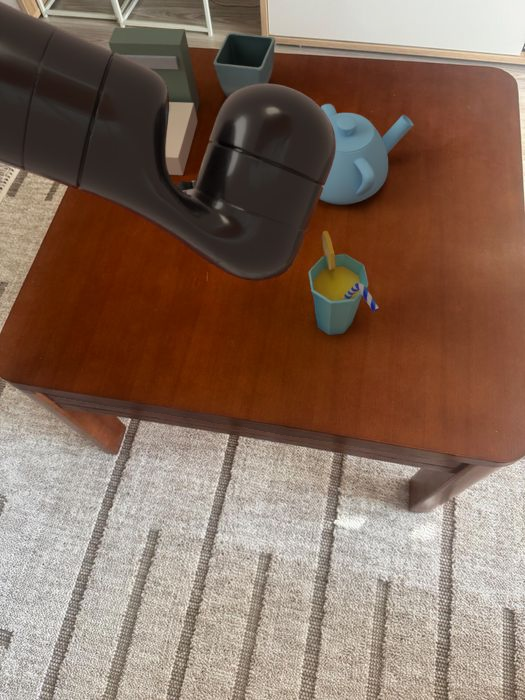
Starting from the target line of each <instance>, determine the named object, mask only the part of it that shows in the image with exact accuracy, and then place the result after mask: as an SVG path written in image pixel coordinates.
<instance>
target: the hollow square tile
mask: <svg viewBox="0 0 525 700" xmlns="http://www.w3.org/2000/svg"><path fill="white" fill-rule="evenodd" d="M198 122H199V121H198V115H197V114H196V111H195V107H194V103H184V102H169V117H168V127H167V136H166V165H167V169H168V173H169V175H170V176H184V173H185V170H186V166H187V162H188V159H189V155H190V151H191V147H192V144H193V140H194V136H195V133H196V130H197V125H198Z"/></svg>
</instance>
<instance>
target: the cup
mask: <svg viewBox="0 0 525 700" xmlns="http://www.w3.org/2000/svg"><path fill="white" fill-rule="evenodd" d="M321 241H322V248H323V249H322V250H323V254H324V255H323V256H321V257H320V258H319V260H318V261H317V262H316V263H315V264H314V265H313V266H312V267H311V268H310V270H309V271H308V277H309V283H310V291H311V295H312V297H313V304H314V312H315V319H316V325H317V328H318V329H319V330H321V331H323V332H324V333H326V334H327V335H329V336H333V335H342V334H344V333H345V332H346V331H347V330H348V329H349V328H350V326H351V325H352V324H353V321H354V319H355V316H356V313H357V312H358V308H359V305H360V302H361V300H362V297H363V299H364V300H365V301H366V304H367V305H368V306H369V308H370V309H371V311H372V312H376V311H377V310H379V309H380V308H379V306H378V304H377V303H376V300H375V299H374V298H373V296H372V295H371V293H370V292H369V290H368V287H369V279H368V276H367V272H366V267H365V265H364V264H363V263H361V262H360V261H358V260H356V259H354V257H351V256H349V255H348V254H346V253H342V254H335V251H334V246H333V242H332V238H331V236H330V233H329V232H328V230H324V231H322V232H321Z"/></svg>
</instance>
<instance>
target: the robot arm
mask: <svg viewBox="0 0 525 700" xmlns="http://www.w3.org/2000/svg"><path fill="white" fill-rule="evenodd" d="M168 117H169V92H168V88H167V85H166V83H165V82H164V80H163V79H162V78H161V77H160V75H158V74H157V73H156V72H154V71H153V70H151V69H149V68H148V67H146V66H144V65H142V64H140V63H138V62H136V61H134V60H131V59H129V58H127V57H124V56H122V55H120V54H117V53H115V54H114V55H113V52H112V51H111V49H108V48H106V47H104V46H102V45H99V44H97V43H95V42H92V41H90V40H89V39H85V38H84V37H81V36H79V35H77V34H74V33H72V32H70V31H67V30H65V29H63V28H61V27H58V26H57V25H55V24H52V23H50V22H48V21H45V20H43V19H41V18H39V17H36V16H33V15H32V14H29V13H27V12H24V11H22V10H20V9H17V8H16V7H14V6H11V5H9V4H7V3H5V2H2V1H1V0H0V164H3V165H6V166H8V167H12V168H14V169H17V170H20V171H23V172H26V173H29V174H31V175H34V176H37V177H40V178H43V179H46V180H49V181H51V182H54V183H57V184H60V185H62V186H66V187H69V188H72V189H74V190H78V189H79V190H80V191H81V192H83V193H87V194H89V195H92V196H95V197H98V198H100V199H102V200H104V201H107V202H110V203H112V204H114V205H116V206H118V207H120V208H122V209H124V210H126V211H128V212H130V213H132V214H134V215H136V216H138V217H140V218H141V219H143V220H145V221H146V222H148V223H150V224H151V225H153V226H155V227H157V228H159V229H160V230H162V231H163V232H164V233H166V234H168V235H169V236H171V238H174V239H175V240H177V241H178V242H180V243H181V244H182V245H184V246H185V247H187V249H189V250H191V251H192V252H193V253H195V254H196V255H198V256H199V257H200V258H202V259H204V260H205V261H207V262H208V263H209V264H211V265H212V266H214V267H216V268H218V269H219V270H220V271H223V272H224V273H226V274H228V275H229V276H233V277H235V278H238V279H241V280H244V281H251V282H252V281H253V282H258V281H268V280H271V279H274V278H277V277H280V276H282V275H283V274H285V273H286V272H288V271H289V270H290V269H291V267H292V266H293V265H294V263H295V261H296V260H297V258H298V255H299V253H300V251H301V248H302V246H303V243H304V240H305V238H306V235H307V232H308V230H309V227H310V224H311V221H312V219H313V217H314V214H315V211H316V209H317V206H318V203H319V201H320V196H321V194H322V191H323V187H322V186H323V185H325V183H326V181H327V178H328V176H329V173H330V170H331V167H332V164H333V161H334V157H335V151H336V139H335V133H334V129H333V127H332V124H331V122H330V120H329V118H328V117H327V115H326V114H325V112H324V111H323V110H322V109H321V106H320V105H319V104H318V103H317V102H316V101H314V100H313V99H312V98H310V97H309V96H307V95H306V94H304V93H303V92H301V91H300V90H299V91H298V90H297V89H295V88H291V87H289V86H286V85H283V84H276V83H268V84H254V85H249V86H246V87H243V88H241V89H238V90H237V91H235V92H234V93H232V94H231V95H230V96H229V97H226V99H224V101H223V103H222V105H221V107H220V108H219V111H218V113H217V116H216V118H215V121H214V124H213V128H212V130H211V133H210V136H209V142H208V144H207V146H206V149H205V153H204V154H203V155H204V156H203V158H202V161H201V164H200V168H199V171H198V174H197V177H196V178H195V179H194V180H189V181H185V180H179V182H178V183H175V182H174V181H173V179H172V177H171V175H169V173H168V169H167V165H166V136H167V127H168Z"/></svg>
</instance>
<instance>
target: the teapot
mask: <svg viewBox="0 0 525 700" xmlns="http://www.w3.org/2000/svg"><path fill="white" fill-rule="evenodd" d="M320 107H321V109H322V110H323V111H324V112H325V114H326V115H327V117H328V118H329V120H330V122H331V124H332V127H333V129H334V133H335V139H336V151H335V157H334V161H333V164H332V167H331V170H330V173H329V176H328V178H327V181H326V183H325V185H323V186H322V187H323V191H322V194H321V196H320V199H319V201H320V200H321V201H322V202H325V203H327V204H331V205H338V206H339V205H340V206H344V205H345V206H346V205H352V204H357V203H360V202H362V201H364V200H367V199H368V198H370V197H372V196H373V195H375V194H376V193H378V191H379V190H380V189H381V188H382V187H383V185H384V183H386V179H387V177H388V173H389V157H388V154H389V153H390V152H391V151H392V149H393V148H394V147H395V146H396V145H397V144H398V143H399V142H400V141H401V140H402V138H403V137H404V136H405V135H407V133H408V132H409V131H410V130H411V129H412V128H413V127H414V122H413V121H412V120H411V119H410V118H409V117H408V116H407V115H405V114H402V115H401V116H400V117H399V118H398V119H397V120H396V121H395V123H394V124H393V125H392V126H391V127H390V128H389V129H388V130H387V131H386V133H384V135H380V133H379V131H378V130H377V128H376V127H375V125H373V123H372V122H371V121H370V120H369V119H368V118H366V117H364V116H363V115H361V114H358V113H354V112H338V113H337V110H336V108H335V106H334V105H333V104H332V103H324V104H322V105H321V106H320Z"/></svg>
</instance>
